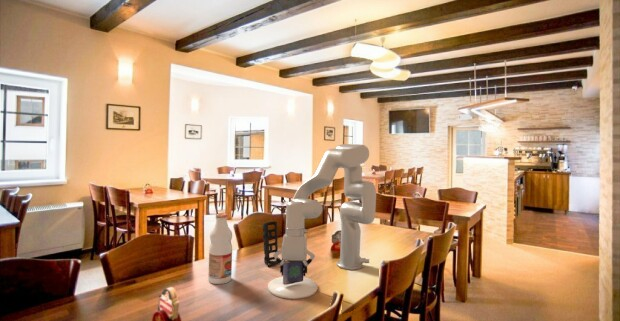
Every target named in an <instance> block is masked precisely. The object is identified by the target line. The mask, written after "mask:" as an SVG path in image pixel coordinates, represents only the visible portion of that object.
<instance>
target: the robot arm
mask: <svg viewBox="0 0 620 321" xmlns="http://www.w3.org/2000/svg"><path fill="white" fill-rule="evenodd" d="M369 157H370V150H369V148H368V146H367V145H365V144H357V143H356V144H352V143H343V144H338V145H337V146H336V147H335V148H330V149H327V150H326V151H325V152H324V154H323V156H322V158H321V159H320V162H319V164H318V166H317V168H316V169H315V172H314V173H313V175H312V176H311V177H310V178H308V179H307V180H305V181H304V182H303V183H302V184H301V185H299V187H298V188H297V190H296V191H295V193H294V196H293V197H292V198H291V199H292V200H291V201H290V200H289V201H288V202H287V203H286V207H285V211H286V212H285V233H284V234H283V238H282V242H281V243H282V244H281V248H280V249H278V251H277V252H276V253H275V252H273V255H272V257H274V258H275V261H277V262H278V263H279V264H278V265H279V271H280V274H281V277H282V276H283V262H285V261H303V263H304V273H303V277H306V274H308V266H309V265H310V264H311V263H312V262H313V260H314V259H315V257H316V255H315V254H314V253H313V252H312V251H310V250H309V249H308V248H307V247H308V246H307V245H308V243H307V235H306V234H308V233H309V232H308V231H309V230H308V229H306V228H305V221H306V220H305V219H317V218H318V217H320V216H321V215H322V213H323V205H322V204H321V202H320V201H318V200H314V199H309V197H310V195H312V194H313V193H314V192H316V191H318V190H320V189H324V188H327V187H329V186H330V185H332V183H333V181H334V178H335V176H336V174H337V172H338V170H339V169H343V171H344V176H343V177H344V179H343V194H344V196H345V198H347V199H350V200H349V201H345V202H343V203H342V204H341V205H340V208H339V215H340V225H341V226H340V227H341V229H340V232H341V234H340V249H339V250H340V252H339V254H340V256H339V260H337V261H336V266H337V267H339V268H340V269H344V270H349V271H354V270H360V269H362V268H363V264H369V263H370V258H366V257H361V232H362V231H361V226H360V224H362V225H371V224H372V223H373V222H374V221H375V217H376V209H377V208H376V206H377V205H376V204H377V188H376V186H375V183H373V182H372V181H369V180H363V169H362V166H361V165H362V164H364V163H366V162H367V160H368V159H369ZM351 200H355V201H351ZM358 201H361V202H358ZM279 255H281V258H280V257H279ZM307 255H308V256H310V257H309V258H308V259H307Z"/></svg>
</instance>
